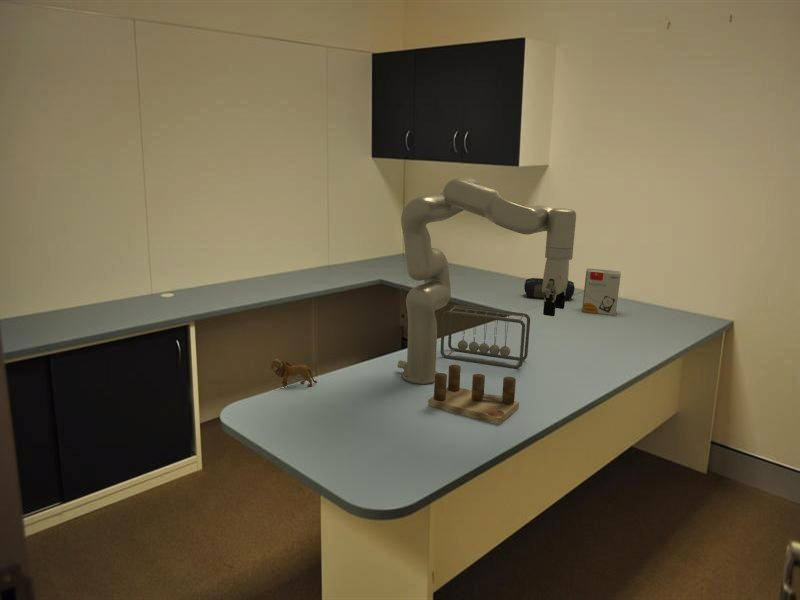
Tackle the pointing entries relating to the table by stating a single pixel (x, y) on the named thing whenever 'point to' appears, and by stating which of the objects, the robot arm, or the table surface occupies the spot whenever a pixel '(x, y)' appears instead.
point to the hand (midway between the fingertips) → (553, 311)
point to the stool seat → (467, 399)
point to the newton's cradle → (484, 347)
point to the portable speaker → (535, 288)
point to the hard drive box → (601, 291)
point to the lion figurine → (290, 371)
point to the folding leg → (506, 396)
